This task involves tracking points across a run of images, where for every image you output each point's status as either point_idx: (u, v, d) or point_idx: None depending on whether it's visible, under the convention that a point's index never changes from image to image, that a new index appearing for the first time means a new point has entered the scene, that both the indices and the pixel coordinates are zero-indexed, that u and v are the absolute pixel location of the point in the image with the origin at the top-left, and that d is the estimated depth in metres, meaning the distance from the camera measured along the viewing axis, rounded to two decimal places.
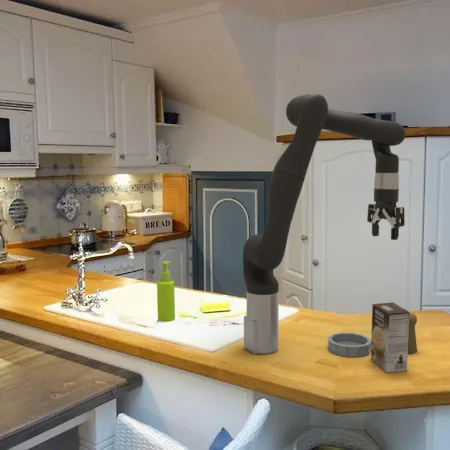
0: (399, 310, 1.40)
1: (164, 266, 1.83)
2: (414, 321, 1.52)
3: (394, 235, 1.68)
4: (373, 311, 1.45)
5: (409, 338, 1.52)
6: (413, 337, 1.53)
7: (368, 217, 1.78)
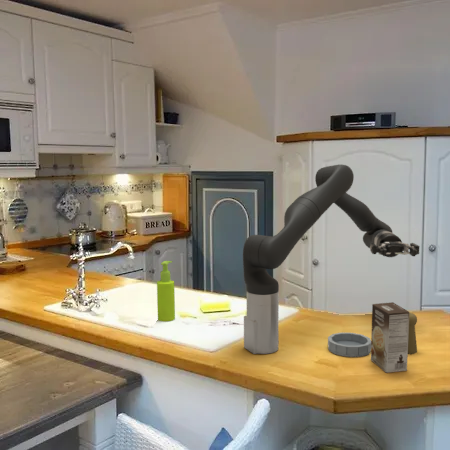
0: (399, 310, 1.40)
1: (164, 266, 1.83)
2: (414, 321, 1.52)
3: (415, 250, 1.64)
4: (373, 311, 1.45)
5: (409, 338, 1.52)
6: (413, 337, 1.53)
7: (373, 245, 1.69)
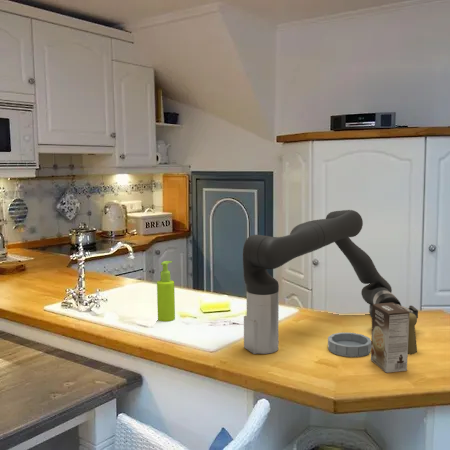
0: (399, 310, 1.40)
1: (164, 266, 1.83)
2: (414, 321, 1.52)
3: None
4: (373, 311, 1.45)
5: (409, 338, 1.52)
6: (413, 337, 1.53)
7: None
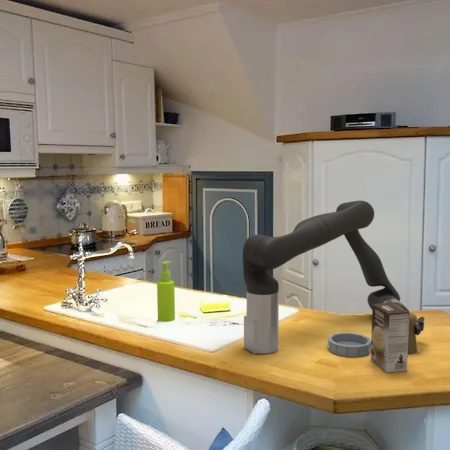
0: (399, 310, 1.40)
1: (164, 266, 1.83)
2: (414, 321, 1.52)
3: (419, 327, 1.53)
4: (373, 311, 1.45)
5: (409, 338, 1.53)
6: (413, 337, 1.53)
7: None
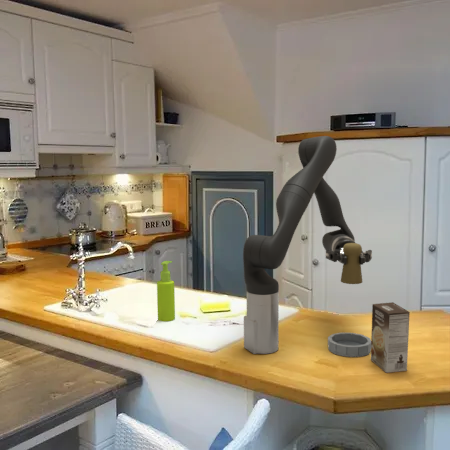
0: (399, 310, 1.40)
1: (164, 266, 1.83)
2: (358, 250, 1.50)
3: (363, 257, 1.51)
4: (373, 311, 1.45)
5: (353, 268, 1.51)
6: (357, 267, 1.51)
7: (333, 252, 1.56)
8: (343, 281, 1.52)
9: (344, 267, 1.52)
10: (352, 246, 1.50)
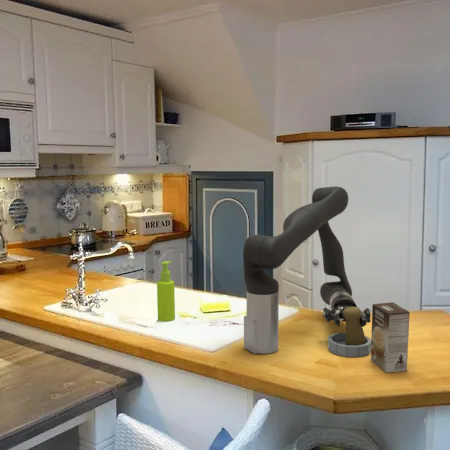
0: (399, 310, 1.40)
1: (164, 266, 1.83)
2: (358, 315, 1.53)
3: (365, 319, 1.54)
4: (373, 311, 1.45)
5: (356, 332, 1.54)
6: (360, 330, 1.54)
7: (328, 312, 1.59)
8: None
9: (347, 332, 1.55)
10: (351, 312, 1.53)
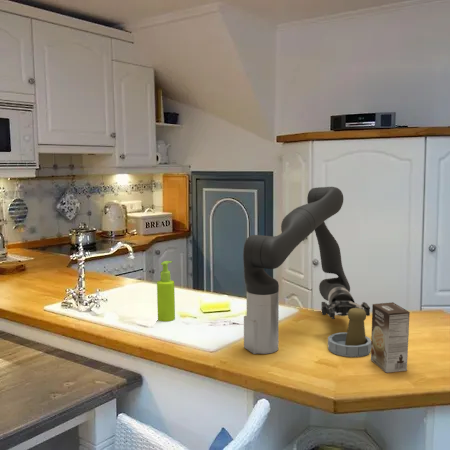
0: (399, 310, 1.40)
1: (164, 266, 1.83)
2: (362, 317, 1.53)
3: None
4: (373, 311, 1.45)
5: (357, 333, 1.54)
6: (361, 333, 1.54)
7: (323, 305, 1.65)
8: None
9: (348, 332, 1.56)
10: (356, 312, 1.54)
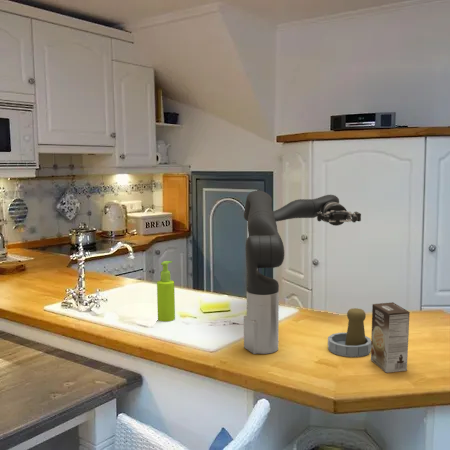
0: (399, 310, 1.40)
1: (164, 266, 1.83)
2: (362, 317, 1.53)
3: (356, 216, 1.76)
4: (373, 311, 1.45)
5: (357, 334, 1.54)
6: (361, 333, 1.54)
7: (319, 213, 1.81)
8: None
9: (348, 332, 1.56)
10: (355, 313, 1.53)
